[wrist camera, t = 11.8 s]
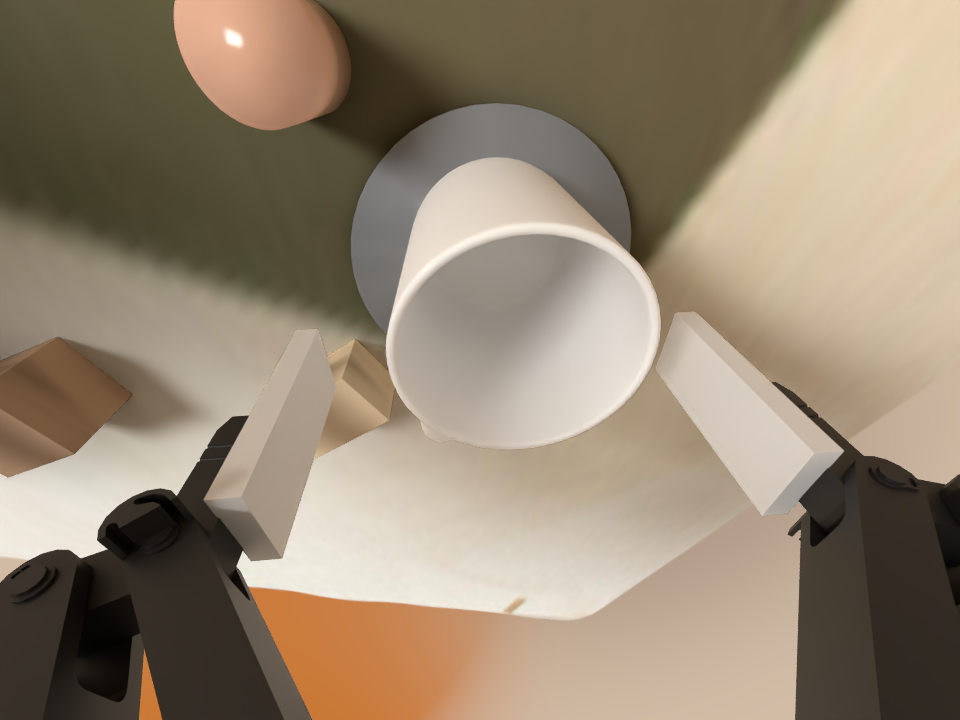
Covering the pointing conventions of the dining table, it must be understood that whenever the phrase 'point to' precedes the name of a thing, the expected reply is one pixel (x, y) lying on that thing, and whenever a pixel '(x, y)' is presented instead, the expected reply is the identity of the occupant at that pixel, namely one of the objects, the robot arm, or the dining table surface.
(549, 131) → the gray plate
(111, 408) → the walnut block
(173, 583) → the robot arm
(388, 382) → the beech block
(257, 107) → the peach egg shape
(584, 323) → the mug
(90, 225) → the dining table surface
